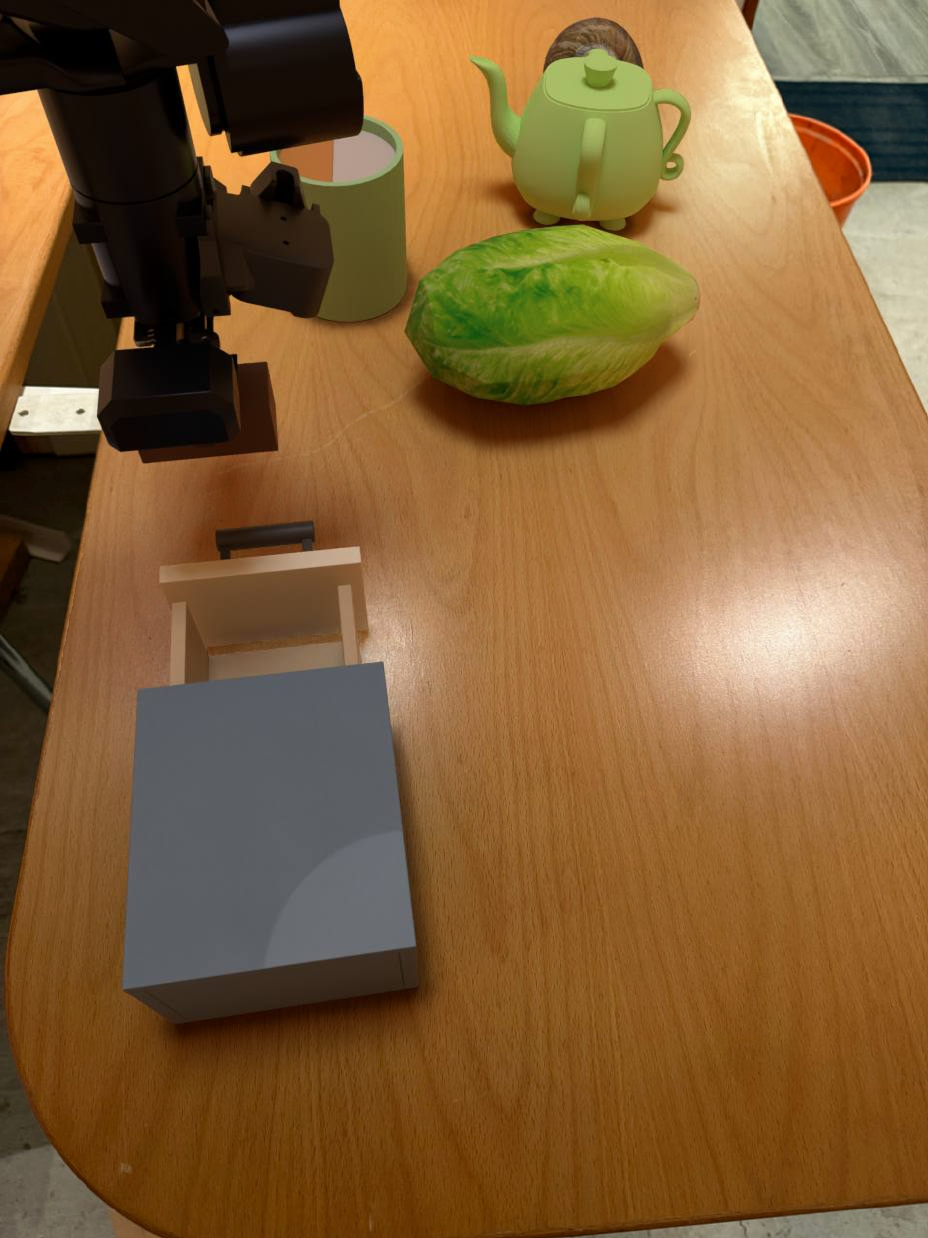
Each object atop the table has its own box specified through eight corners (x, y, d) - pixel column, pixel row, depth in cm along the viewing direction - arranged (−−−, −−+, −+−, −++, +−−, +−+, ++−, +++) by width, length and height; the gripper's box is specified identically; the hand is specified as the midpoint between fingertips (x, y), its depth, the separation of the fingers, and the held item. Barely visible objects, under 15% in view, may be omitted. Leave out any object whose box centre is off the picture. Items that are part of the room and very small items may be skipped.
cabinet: (179, 761, 53) (137, 688, 46) (390, 735, 55) (383, 660, 47) (173, 1024, 46) (121, 990, 38) (419, 987, 47) (416, 946, 39)
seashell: (550, 135, 92) (559, 51, 85) (530, 87, 97) (538, 4, 90) (656, 127, 93) (673, 44, 86) (631, 81, 98) (646, -1, 91)
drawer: (189, 578, 59) (161, 507, 53) (361, 561, 61) (353, 489, 55) (184, 837, 50) (150, 787, 44) (388, 810, 51) (382, 758, 45)
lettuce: (708, 414, 70) (753, 288, 61) (424, 458, 67) (422, 332, 57) (652, 309, 77) (684, 179, 67) (391, 344, 74) (385, 213, 64)
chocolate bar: (278, 451, 54) (270, 408, 51) (142, 464, 53) (125, 421, 50) (275, 404, 56) (267, 360, 53) (144, 416, 55) (128, 372, 52)
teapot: (549, 271, 80) (567, 129, 69) (462, 190, 86) (466, 48, 75) (687, 215, 85) (723, 75, 74) (596, 142, 91) (617, 4, 80)
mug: (405, 244, 81) (401, 108, 71) (408, 320, 75) (404, 185, 65) (265, 246, 80) (240, 109, 70) (257, 323, 75) (230, 187, 65)
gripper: (329, 285, 36) (356, 526, 50) (300, 56, 46) (329, 307, 59) (44, 306, 35) (149, 548, 48) (77, 66, 45) (156, 321, 58)
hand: (206, 419), depth 54 cm, fingers closed on chocolate bar, 4 cm apart
